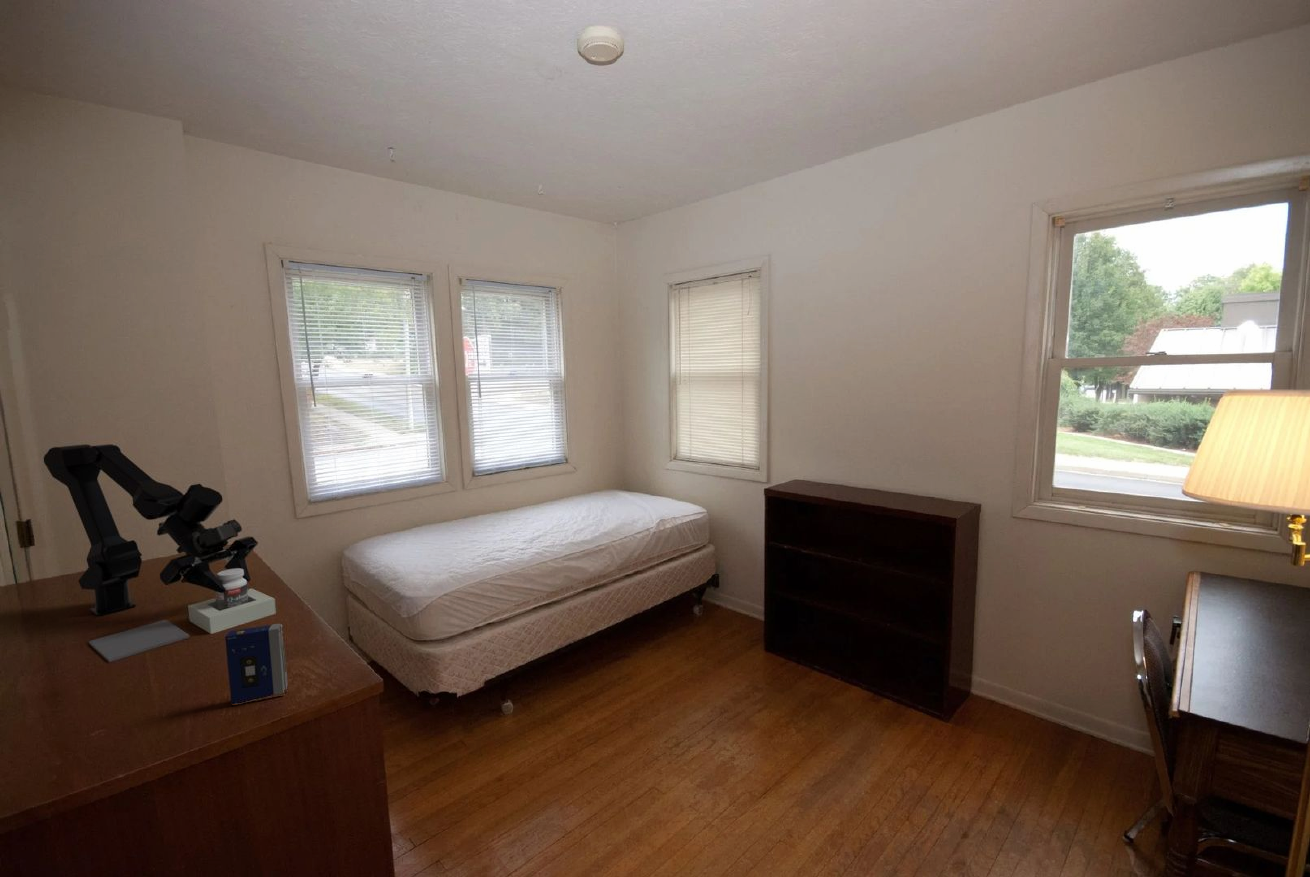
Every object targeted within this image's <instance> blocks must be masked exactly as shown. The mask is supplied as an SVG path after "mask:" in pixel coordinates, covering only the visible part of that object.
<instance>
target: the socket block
mask: <svg viewBox="0 0 1310 877" xmlns="http://www.w3.org/2000/svg"><path fill="white" fill-rule="evenodd" d="M247 589H248V588H247ZM187 609H188V619H189V622H191V623H192V624H194V625H196V626H197V627H199V628H201V629H203V630H204V631H205V632H207V633H208V634H211V635H212V634H215V633H219V632H222V631H225V630H228V629H231V628H234V627H237V626H241V625H244V624H247V623H251V622H253V621H257V620H260V619H263V618H266V617H269V616H273V615H276V613H277V612H276V599H275V598H274V597H272V596H270V595H267V594H265V593H263V592H260V591H259V590H257V589H256V590H255V589H254V588H249V589H248V603H245V604H242V605H238V606H235V607H231V608H228V609H224V610H221V611H218V610H217V609H216V597H215V598H212V599H208V600H204V601H201V602H200V601H199V602H197V603H192V604H188V606H187Z"/></svg>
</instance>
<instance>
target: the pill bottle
mask: <svg viewBox="0 0 1310 877" xmlns="http://www.w3.org/2000/svg"><path fill="white" fill-rule="evenodd" d="M243 575H244V570H243V569H241V568H236V569H229V570H227V569H226V570H222V571H219V572H218V573H217V574H216V577H217V579H218V580H219V581H220V582H221V583H222V585H223V586H224V588H225V591H224V592H223V593H220V592H217V591H214V593H215V594H214V595H215V598H216V609H217V610H218V611H221V610H224V609H228V608H231V607H235V606H238V605H242V604H245V603H248V583H247V581H246V579H244V578H243V577H242V576H243Z"/></svg>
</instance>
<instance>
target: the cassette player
mask: <svg viewBox="0 0 1310 877" xmlns="http://www.w3.org/2000/svg"><path fill="white" fill-rule="evenodd" d="M282 628H283V624H281V623H280V622H279V623H274V624H268V625H261V626H255V627H249V628H242V629H234V630H229V631H228V633H227V634H226V635H225V639H224V640H225V648H226V649H225V650H226V659H227V661H226V662H227V671H228V683H229V693H230V694H229V695H230V705H231V704H235V703H242V702H246V701H250V700H253V699H259V698H263V697H267V696H271V695H273V694H281V693H284V690H286V689H287V686H288V674H287V664H286V662H287V661H286V660H287V659H286V651H285V650H286V649H285V644H284V638H283V630H282ZM288 687H289V686H288Z"/></svg>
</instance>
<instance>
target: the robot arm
mask: <svg viewBox="0 0 1310 877" xmlns="http://www.w3.org/2000/svg"><path fill="white" fill-rule="evenodd" d="M43 463H44V465H45V466H46V468H47V470H48V472H49V473H50V475H51V476H52V478H53V479H55V480H57V481H58V482H60V483H62V484H63V485H64V486H66V487H67V489H68V492H69V495H70V497H71V499H72V500H73V504H74V506H75V509H76V511H77V513H78V516H79V518H80V520H81V523H82V525H83V528H84V530H85V532H86V536H87V538H88V540H89V544H90V548H89V551H88V553H87V557H86V562H87V566H88V568H87V569H86V570H85V572H84V573H83V574H82V575H81V576H80V577H79V579H78V584H79V586H80V588H81V589H82V590H93V595H94V596H93V597H94V604H95V605H94V606H93V607H90V611H91V612H93V613H94V614H95V615H97V616H98V617H99V616H104V615H107V614H111V613H114V612H119V611H123V610H126V609H131V608H133V607H136V606H137V604H136V603H135V602H134V601H132V600H131V598H130V589H129V588H130V587H129V580H131V579H135V578H136V579H137V578H139V576H140V570H141V566H142V562H143V560H142V556H143V554H142V553H141V552H140V549H139V547H138V544H137V542H136V541H135V539H131V540H127V539H125V538H124V537H122V536H121V534H120V531H119V529H118V527H117V524H116V522H115V519H114V517H113V515H112V512H111V509H110V507H109V505H108V502H107V500H106V497H105V494H104V492H103V490H102V488H101V484H100V483H99V480H98V479H99V475H100V473H101V472H103V473H104V474H105V475H107V477H109V478H110V479H111V480H113V482H115V483H116V484H117V485H118V486H120V487H121V488H122V489H123V490H124V491H125V492H127V493H128V495H129V496H130V497H131V498H132V506H133V508H134V509H136V511H137V512H138V513H139V514H140V516H141V517H143V519H146V520H147V521H150V520H152V521H153V520H157V519H162V518H166V519H165V520H164V521H161V522H159V523H158V529H157V531H156V535H157V536H163V535H168V536H169V537H170V538H171V539H172V540H173V542H174V543H176V545H177V546H178V547H177V548H176V552H177V553H178V554H183V553H184V554H185V555H183V556H178V557H176V558H171V559H170V560H169V562H168V563H167V564H166V565H165V566H164V568H163V569H162V571H161V572H160V573H159V579H160V581H161V582H162V583H163V584H164V585H165V586H169V585H171V584H175V583H178V582H180V583H181V584H185V583H187V584H191V585H196V586H199V587H201V588H206V589H208V590H211V591H214V592H215V591H217V592H220V593H223V592H224V591H225V588H224V586H223V585H222V583H221V582H220V581H219V580H218V579H217V575H215V574H214V572H212V570H211V569H210V564H211V563H214V562H218V561H221V560H224V561H225V563H226V564H225V565H224V568H225V569H226V570H229V569H236V568H241V569H243V570H244V575H243V576H242V577H243V578H244V579H246V581H247V584H249V583H250V581H251V577H250V574H249V570H248V567H247V563H246V558H247V557H248V556H249V555H250V553H252V551H253V550H254V549H255V548H256V547H257V545H258V544H259V542H258V541H257V540H256V538H254V536H244V537H241V538H238V539H235V540H234V541H233V542H232V543H231V545H230V546H229V547H228V548H224V547H226V546H227V545H228V544H229V540H230V539H232V538H236V537H238V536H239V534H238V533H241V532H242V531H243V530H242V529H243V528H242V525H241V524H240V522H238V521H237V520H236V519H231V520H227V521H226V522H223V524H222V525H219V526H216V527H209V528H206V527H205V526H204V525H203V524H202V523H203V522H206V521H207V520H208V519H209V518H210V517H211V516H212V514H213V513H214V512H215V511H216V509H217V508H218V507H219V506H220V505H221V504H222V502H223V495H222V494H221V492H220V491H217V490H215V489H213V488H210V487H207V486H203V485H202V484H201V483H196V484H195V483H194V484H191V485H190V486H189V487H188V489H187V491H186V492H185V493H184V494H183V492H182V491H180V490H179V489H177V488H175V487H173V486H171V485H170V484H166V483H162V482H159V481H156V480H154V478H152V477H151V476H150V475H148V474H147V473H146V472H145V471H144V470H143V469H141V468H140V467H139V466H138V465H137V464H135V463H134V462H133V461H132V460H130V458H128V457H127V456H126V455H125V454H124V453H122V451H121V448H120V447H119V446H118V445H116V444H115V445H114V444H112V443H111V444H110V443H109V444H99V445H97V444H96V445H90V444H84V443H83V444H75V445H74V444H72V445H63V446H62V445H61V446H54V447H51V448H49V449H48V451H47V453H44V455H43ZM182 577H183V578H182Z"/></svg>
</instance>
